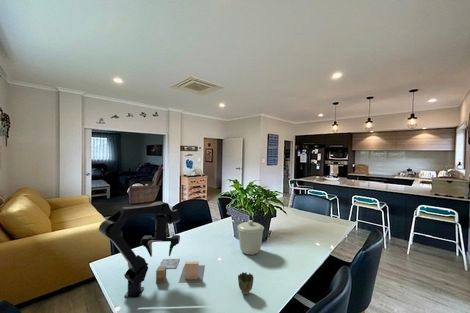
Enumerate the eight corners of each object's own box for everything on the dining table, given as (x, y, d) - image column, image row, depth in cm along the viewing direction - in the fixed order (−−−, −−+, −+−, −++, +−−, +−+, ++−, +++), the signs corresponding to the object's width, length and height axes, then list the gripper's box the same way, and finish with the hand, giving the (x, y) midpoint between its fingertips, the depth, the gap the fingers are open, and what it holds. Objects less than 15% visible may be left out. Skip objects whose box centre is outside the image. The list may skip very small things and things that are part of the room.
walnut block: (164, 284, 104) (164, 270, 104) (156, 284, 103) (156, 270, 103) (166, 279, 108) (166, 266, 108) (158, 279, 107) (158, 266, 107)
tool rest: (176, 269, 117) (176, 267, 117) (157, 269, 116) (157, 268, 116) (179, 260, 127) (179, 258, 127) (162, 260, 126) (162, 258, 126)
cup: (235, 296, 96) (235, 279, 96) (240, 286, 103) (240, 270, 103) (250, 300, 94) (251, 282, 93) (255, 290, 100) (255, 274, 100)
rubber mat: (202, 283, 105) (202, 282, 105) (178, 283, 104) (178, 282, 104) (204, 266, 121) (204, 265, 121) (184, 266, 120) (184, 265, 120)
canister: (267, 257, 133) (267, 224, 133) (239, 258, 130) (240, 225, 130) (259, 244, 151) (259, 216, 151) (234, 246, 148) (235, 216, 148)
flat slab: (198, 278, 108) (198, 263, 108) (184, 279, 107) (184, 263, 107) (198, 276, 110) (198, 261, 110) (185, 276, 109) (185, 261, 109)
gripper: (181, 221, 116) (181, 248, 117) (147, 221, 114) (146, 249, 114) (178, 228, 105) (177, 258, 105) (140, 228, 103) (139, 259, 103)
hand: (160, 256), depth 107 cm, fingers open, 9 cm apart
